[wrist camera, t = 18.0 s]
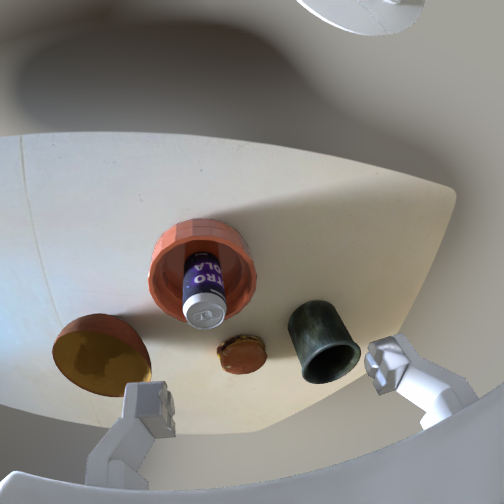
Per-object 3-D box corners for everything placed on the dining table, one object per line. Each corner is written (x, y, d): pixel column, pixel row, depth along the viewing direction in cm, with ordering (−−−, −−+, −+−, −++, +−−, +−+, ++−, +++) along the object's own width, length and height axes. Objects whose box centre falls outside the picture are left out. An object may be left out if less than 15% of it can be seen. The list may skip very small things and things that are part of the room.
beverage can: (224, 273, 49) (233, 325, 38) (191, 283, 48) (191, 336, 38) (214, 243, 46) (220, 292, 35) (178, 254, 45) (175, 305, 35)
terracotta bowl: (189, 197, 42) (188, 213, 37) (269, 251, 49) (278, 272, 44) (135, 271, 46) (129, 294, 41) (211, 313, 53) (214, 337, 48)
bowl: (138, 283, 48) (129, 325, 39) (165, 353, 57) (164, 394, 48) (52, 296, 46) (34, 334, 37) (90, 360, 55) (81, 398, 46)
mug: (343, 295, 56) (370, 338, 46) (324, 347, 64) (343, 389, 53) (291, 297, 54) (311, 345, 44) (277, 351, 61) (291, 397, 51)
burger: (272, 348, 61) (277, 365, 57) (235, 367, 62) (238, 385, 58) (247, 322, 56) (251, 340, 52) (207, 344, 57) (208, 362, 53)
